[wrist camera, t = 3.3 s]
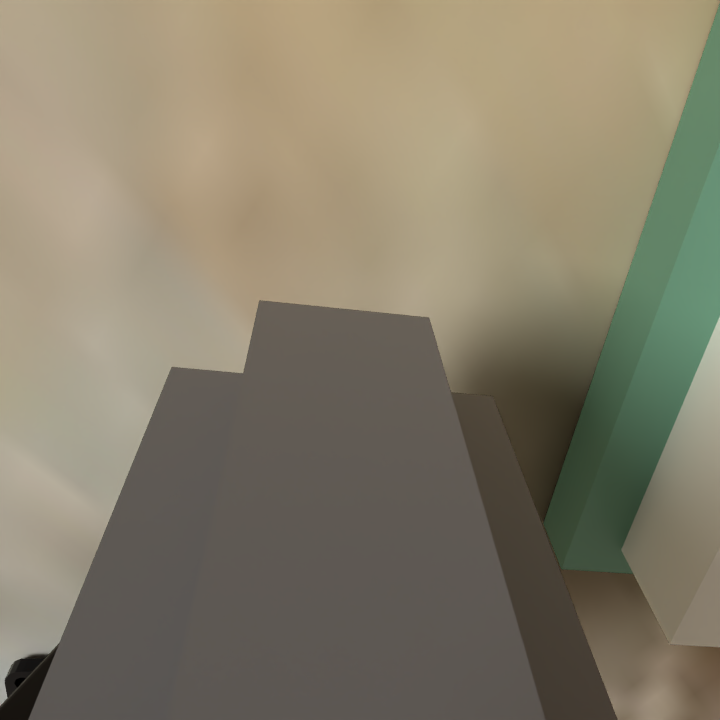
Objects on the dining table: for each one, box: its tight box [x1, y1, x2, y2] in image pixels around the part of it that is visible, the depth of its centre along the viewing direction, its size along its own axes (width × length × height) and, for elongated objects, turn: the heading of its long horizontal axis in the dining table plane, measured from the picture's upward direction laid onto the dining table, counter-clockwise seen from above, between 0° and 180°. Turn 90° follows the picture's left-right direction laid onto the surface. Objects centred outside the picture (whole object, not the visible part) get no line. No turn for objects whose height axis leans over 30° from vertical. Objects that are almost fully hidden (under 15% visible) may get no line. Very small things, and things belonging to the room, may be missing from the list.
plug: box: [28, 300, 617, 720], centre depth 7 cm, size 6×4×6 cm, turn 173°
